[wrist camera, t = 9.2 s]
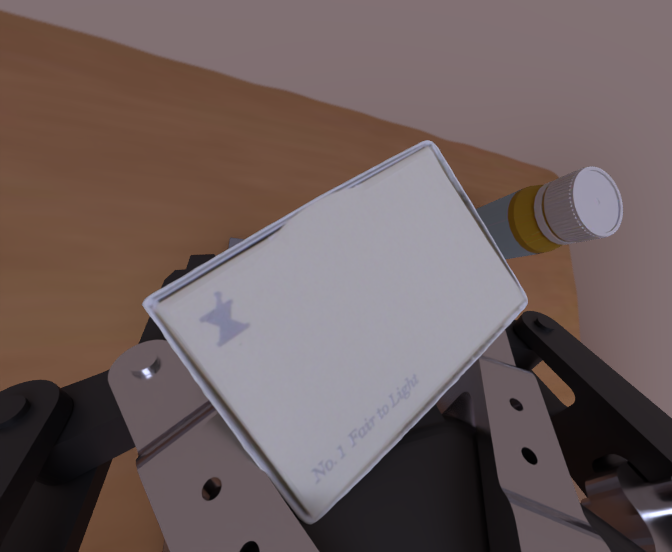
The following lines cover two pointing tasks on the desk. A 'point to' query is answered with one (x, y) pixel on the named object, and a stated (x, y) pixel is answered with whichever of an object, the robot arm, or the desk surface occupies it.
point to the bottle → (554, 213)
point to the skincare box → (342, 323)
